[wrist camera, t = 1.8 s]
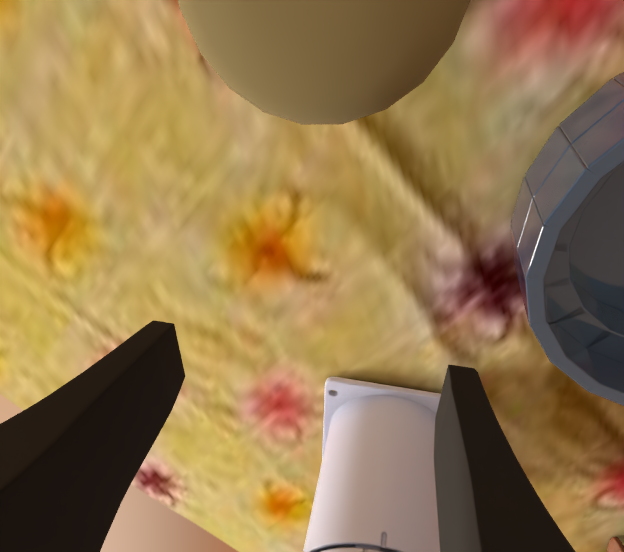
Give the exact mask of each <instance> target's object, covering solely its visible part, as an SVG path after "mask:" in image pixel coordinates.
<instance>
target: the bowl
mask: <svg viewBox="0 0 624 552" xmlns="http://www.w3.org/2000/svg"><path fill="white" fill-rule="evenodd" d="M511 234H512V244H513V255H514V265H515V269H516V273H517V277H518V281H519V285H520V289H521V293H522V297H523V301H524V305H525V309H526V313H527V317H528V321H529V325H530V327H531V329H532V330H533V332H534V334H535V336H536V337H537V339H538V341H539V343H540V344H541V346H542V348H543V350H544V351H545V353H546V355H547V357H548V358H549V360H550V362H552V364H554V365H555V366H556V367H558V368H559V369H560V370H561V371H563V372H564V373H565V374H566V375H568V376H569V377H570V378H571V379H573V380H574V381H575V382H576V383H578V384H579V385H580V386H581V387H583V388H584V389H585V390H586V391H588V392H590V393H593V394H595V395H598V396H600V397H603V398H605V399H608V400H610V401H613V402H615V403H618V404H620V405H623V406H624V72H623V73H621V74H619V75H617V76H615V77H614V79H611V80H610V81H609V82H607V83H606V84H605V85H604V86H603V87H602V88H601V89H599V90H598V91H597V92H596V93H595V94H594V95H593V96H591V97H590V98H589V99H588V100H587V101H586V102H584V103H583V104H582V105H581V106H580V107H579V108H578V109H576V110H575V111H574V112H573V113H572V114H571V115H570V116H568V117H567V118H566V119H565V120H564V121H563V122H562V123H560V125H559V126H558V127H557V128H556V129H555V131H554V132H553V134H552V135H551V137H550V138H549V140H548V141H547V143H546V144H545V146H544V147H543V149H542V150H541V152H540V153H539V155H538V156H537V158H536V159H535V161H534V162H533V164H532V165H531V167H530V168H529V170H528V171H527V173H526V174H525V177H524V178H523V182H522V185H521V189H520V192H519V196H518V199H517V203H516V206H515V210H514V213H513V217H512V220H511Z"/></svg>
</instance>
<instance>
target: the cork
mask: <svg viewBox="0 0 624 552" xmlns="http://www.w3.org/2000/svg"><path fill="white" fill-rule="evenodd" d="M469 2H470V0H178V3H179V8H180V10H181V12H182V15H183V17H184V19H185V21H186V23H187V25H188V27H189V30H190V32H191V34H192V36H193V38H194V40H195V42H196V45H197V47H198V49H199V51H200V53H201V54H202V56H203V57H204V58H205V59H206V60H207V62H208V63H209V64H210V65H211V66H212V68H213V69H214V70H215V71H216V73H217V74H218V75H219V76H220V77H221V79H222V80H223V81H224V82H225V83H226V85H227V86H228V87H229V88H230V89H231V90H233V91H234V92H236V93H237V94H239V95H240V96H241V97H243V98H244V99H246V100H247V101H249V102H250V103H251V104H253V105H254V106H256V107H257V108H259V109H260V110H262V111H263V112H265V113H268V114H271V115H274V116H277V117H281V118H284V119H287V120H290V121H293V122H296V123H299V124H344V123H347V122H350V121H353V120H356V119H359V118H362V117H365V116H368V115H371V114H374V113H377V112H380V111H383V110H385V109H387V108H389V107H390V106H391V105H393V104H394V103H395V102H397V101H398V100H399V99H401V98H402V97H404V96H405V95H406V94H408V93H409V92H410V91H412V90H413V89H414V88H416V87H417V86H419V85H420V84H421V83H423V82H424V80H425V79H426V78H427V76H428V75H429V74H430V72H431V71H432V70H433V68H434V67H435V66H436V65H437V63H438V62H439V61H440V59H441V58H442V57H443V55H444V54H445V53H446V51H447V50H448V49H449V47H450V46H451V45H452V43H453V42H454V40H455V37H456V35H457V32H458V30H459V27H460V24H461V22H462V19H463V17H464V14H465V12H466V9H467V7H468V4H469Z"/></svg>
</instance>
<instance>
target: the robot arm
mask: <svg viewBox="0 0 624 552" xmlns="http://www.w3.org/2000/svg"><path fill="white" fill-rule="evenodd" d="M184 378H185V373H184V368H183V364H182V359H181V354H180V350H179V345H178V340H177V336H176V331H175V326H174V324H173V323H166V322H159V321H152V322H150V323H149V324H148V325H146V326H145V327H143V328H142V329H141V330H139V331H138V332H137V333H135V334H134V335H133V336H131V337H130V338H129V339H127V340H126V341H125V342H124V343H122V344H121V345H120V346H118V347H117V348H116V349H114V350H113V351H112V352H110V353H109V354H107V355H106V356H105V357H103V358H102V359H101V360H99V361H98V362H97V363H95V364H94V365H92V366H91V367H90V368H88V369H87V370H86V371H84V372H83V373H81V374H80V375H78V376H77V377H75V378H74V379H72V380H71V381H69V382H68V383H66V384H65V385H63V386H62V387H60V388H59V389H57V390H56V391H55V392H53V393H52V394H50V395H49V396H47V397H45V398H44V399H42V400H41V401H39V402H37V403H36V404H34V405H32V406H31V407H29V408H28V409H26V410H24V411H22V412H21V413H19V414H17V415H15V416H14V417H12V418H10V419H8V420H7V421H5V422H3V423H1V424H0V552H100V550H101V548H102V545H103V543H104V540H105V538H106V536H107V533H108V531H109V529H110V527H111V524H112V522H113V520H114V517H115V515H116V513H117V510H118V508H119V506H120V504H121V501H122V500H123V498H124V496H125V494H126V492H127V490H128V488H129V486H130V484H131V482H132V480H133V479H134V477H135V475H136V473H137V472H138V470H139V468H140V466H141V464H142V463H143V461H144V459H145V457H146V456H147V454H148V452H149V450H150V448H151V447H152V445H153V443H154V441H155V440H156V438H157V436H158V434H159V432H160V431H161V429H162V427H163V425H164V423H165V422H166V420H167V418H168V416H169V414H170V412H171V411H172V408H173V406H174V403H175V401H176V399H177V396H178V394H179V391H180V389H181V386H182V383H183V381H184ZM333 390H335V391H333ZM303 552H575V550H574V549H573V548H572V546H571V545H570V543H569V542H568V541H567V539H566V538H565V536H564V535H563V533H562V532H561V531H560V529H559V527H558V526H557V524H556V523H555V521H554V520H553V518H552V517H551V515H550V514H549V512H548V511H547V509H546V508H545V506H544V505H543V503H542V501H541V500H540V498H539V496H538V495H537V493H536V492H535V490H534V488H533V487H532V485H531V483H530V481H529V480H528V478H527V476H526V474H525V473H524V471H523V469H522V467H521V466H520V464H519V462H518V460H517V458H516V456H515V455H514V453H513V451H512V449H511V447H510V445H509V443H508V441H507V439H506V437H505V435H504V433H503V431H502V429H501V427H500V425H499V423H498V421H497V418H496V416H495V414H494V412H493V410H492V407H491V405H490V403H489V400H488V398H487V396H486V393H485V391H484V388H483V386H482V383H481V380H480V377H479V375H478V372H477V371H476V370H475V369H474V368H468V367H461V366H454V365H448V369H447V373H446V377H445V381H444V385H443V389H442V393H441V394H440V393H434V392H428V391H421V390H415V389H409V388H403V387H396V386H390V385H384V384H378V383H372V382H365V381H359V380H353V379H347V378H340V377H329V378H327V380H326V383H325V400H324V426H323V453H322V465H321V470H320V474H319V479H318V484H317V489H316V493H315V498H314V503H313V508H312V512H311V517H310V522H309V527H308V531H307V536H306V541H305V546H304V550H303Z"/></svg>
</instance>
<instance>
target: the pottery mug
mask: <svg viewBox="0 0 624 552" xmlns="http://www.w3.org/2000/svg"><path fill="white" fill-rule="evenodd" d="M607 552H624V546H623V545H622V543H621V542H620V540H619V539H618V538H617V537H612V538H611V539H610V542H609V544H608V548H607Z"/></svg>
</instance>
